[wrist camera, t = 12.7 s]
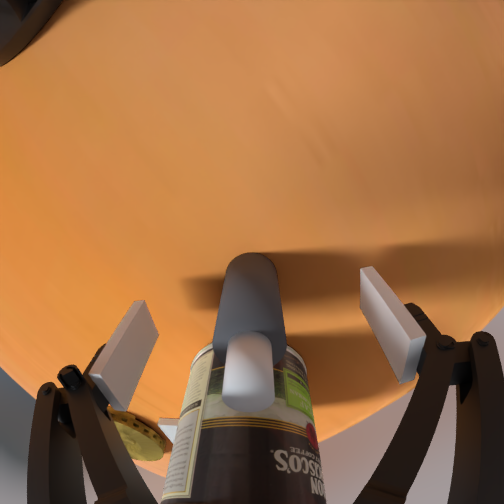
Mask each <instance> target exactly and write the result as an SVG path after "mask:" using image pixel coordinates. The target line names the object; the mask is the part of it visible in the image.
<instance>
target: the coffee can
mask: <svg viewBox="0 0 504 504" xmlns="http://www.w3.org/2000/svg"><path fill="white" fill-rule="evenodd" d="M224 372H225V364H223V363H222V362H221V361H220V360H219V359H218V358H217V357H216V355H215V353H214V351H213V346H212V343H210V344H209V345H207V346H206V347H204V348H203V349H202V350H201V351H199V352H198V354H197V355H196V356H195V358H194V360H193V362H192V365H191V370H190V377H189V381H188V385H187V389H186V393H185V397H184V401H183V405H182V409H181V413H180V418H179V422H178V426H177V431H176V435H175V440H174V444H173V448H172V453H171V457H170V462H169V466H168V471H167V476H166V480H165V486H164V490H163V495H162V500H161V504H326V497H325V489H324V482H323V475H322V468H321V460H320V454H319V448H318V441H317V435H316V429H315V423H314V416H313V411H312V405H311V398H310V393H309V387H308V380H307V369H306V366H305V363H304V361H303V359H302V357H301V356H300V355H299V354H298V353H297V352H296V351H295V350H293V349H292V348H291V347H289V346H288V345H287V349H286V352H285V354H284V356H283V358H282V359H281V360H280V361H279V362H278V363H277V364H275V365H274V366H273V376H274V392H275V400H274V402H273V404H272V405H271V406H270V407H268V408H266V409H264V410H262V411H258V412H240V411H236V410H234V409H231V408H229V407H228V406H227V405H226V404H225V403H224V402H223V400H222V389H223V380H224Z"/></svg>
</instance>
